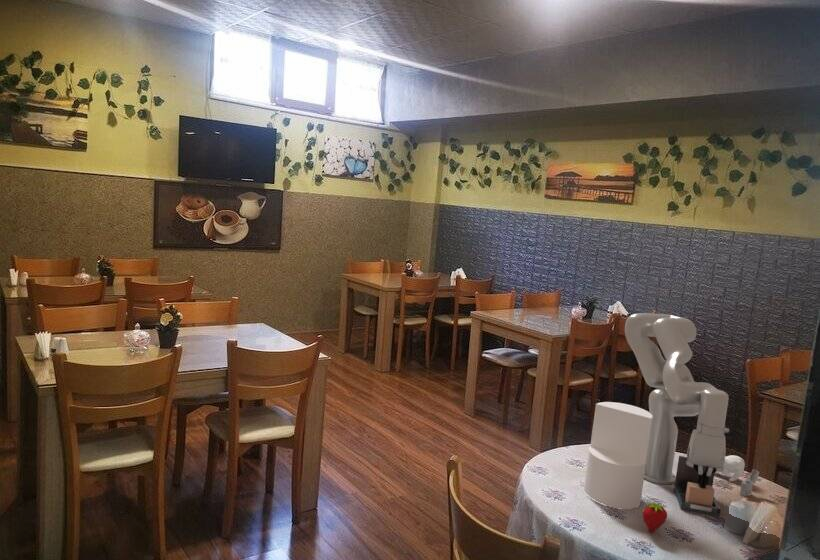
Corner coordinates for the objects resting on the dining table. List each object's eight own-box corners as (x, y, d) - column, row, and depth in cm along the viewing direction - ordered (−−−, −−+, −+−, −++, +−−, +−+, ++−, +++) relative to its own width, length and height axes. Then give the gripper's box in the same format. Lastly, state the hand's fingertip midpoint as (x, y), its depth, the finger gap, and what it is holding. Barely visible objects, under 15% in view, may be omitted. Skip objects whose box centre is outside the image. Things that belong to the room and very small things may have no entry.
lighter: (744, 496, 201) (748, 473, 201) (739, 494, 203) (743, 471, 202) (756, 493, 205) (760, 470, 204) (751, 490, 207) (754, 468, 206)
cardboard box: (687, 504, 189) (690, 486, 189) (685, 499, 193) (687, 481, 192) (711, 509, 188) (714, 490, 187) (708, 503, 191) (711, 485, 191)
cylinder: (593, 478, 205) (604, 398, 202) (646, 496, 196) (658, 412, 192) (575, 495, 191) (586, 409, 188) (631, 515, 181) (644, 425, 178)
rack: (680, 509, 188) (686, 472, 187) (673, 490, 202) (679, 455, 200) (719, 517, 185) (725, 479, 184) (709, 497, 199) (715, 462, 197)
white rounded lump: (741, 460, 210) (704, 452, 218) (740, 484, 210) (703, 475, 218) (746, 456, 214) (710, 447, 223) (745, 479, 215) (709, 470, 223)
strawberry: (669, 534, 172) (674, 501, 171) (652, 540, 168) (657, 506, 167) (651, 524, 177) (656, 492, 176) (634, 529, 173) (639, 496, 172)
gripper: (733, 429, 189) (725, 486, 191) (681, 421, 193) (674, 476, 195) (739, 437, 182) (730, 496, 184) (686, 429, 186) (677, 486, 188)
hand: (701, 486), depth 189 cm, fingers closed
